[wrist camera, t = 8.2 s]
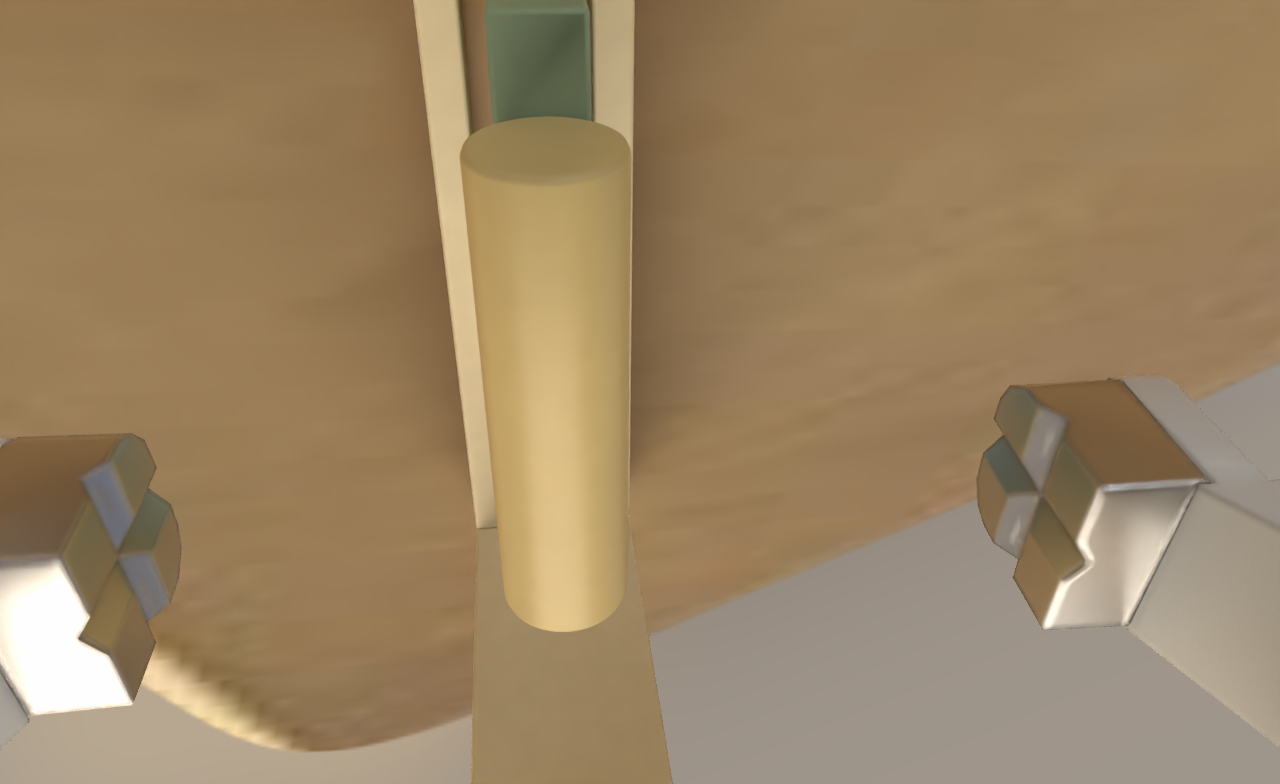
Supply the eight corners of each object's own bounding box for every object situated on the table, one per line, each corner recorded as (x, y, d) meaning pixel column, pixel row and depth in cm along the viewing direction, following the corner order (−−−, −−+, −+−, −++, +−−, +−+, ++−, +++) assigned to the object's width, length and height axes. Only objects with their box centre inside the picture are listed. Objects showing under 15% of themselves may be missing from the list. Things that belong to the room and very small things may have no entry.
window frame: (480, 501, 27) (473, 890, 18) (392, -274, 16) (273, -242, 8) (620, 491, 27) (680, 867, 19) (623, -270, 17) (763, -237, 8)
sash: (503, 276, 21) (509, 691, 12) (471, -133, 16) (443, 63, 8) (576, 273, 21) (633, 680, 12) (563, -133, 17) (643, 58, 8)
